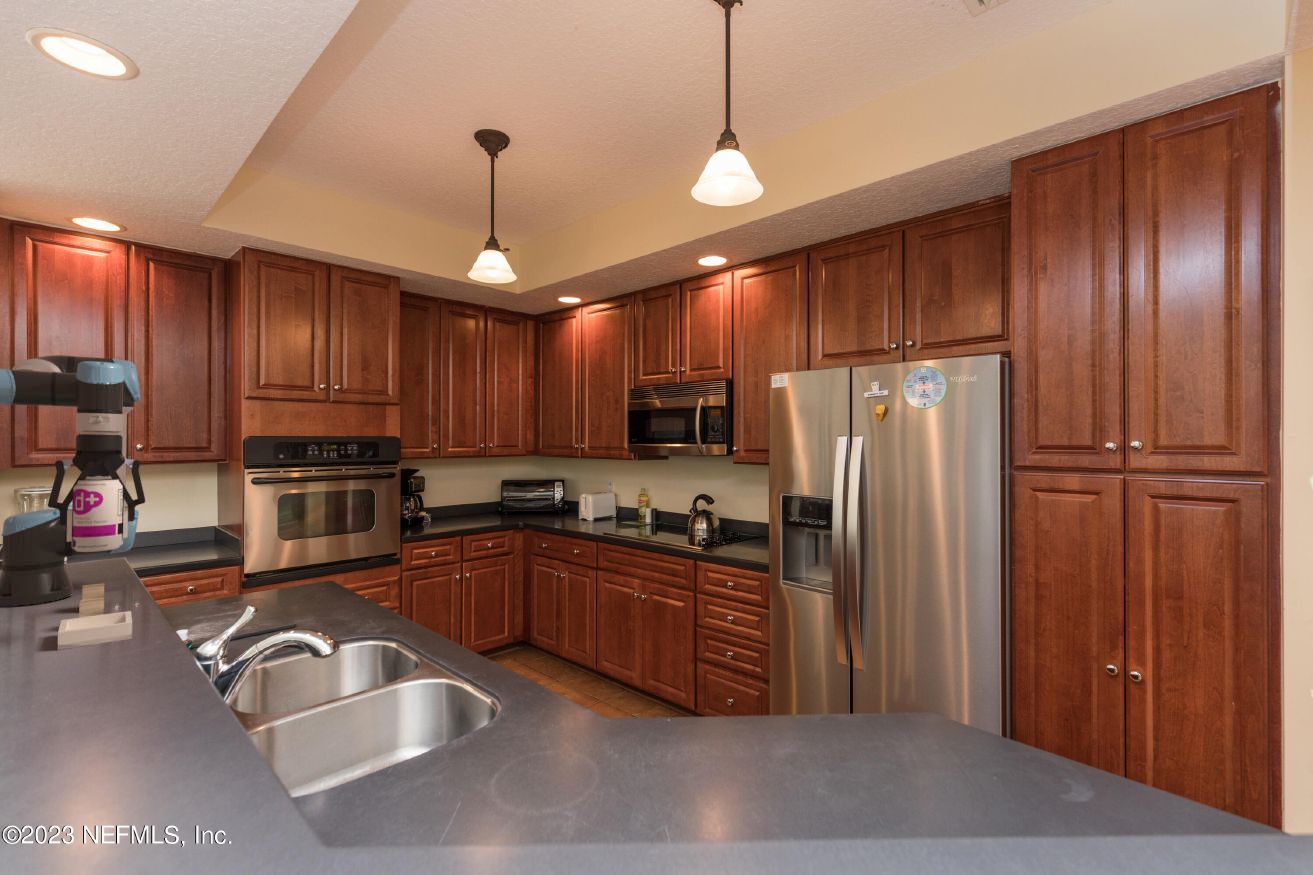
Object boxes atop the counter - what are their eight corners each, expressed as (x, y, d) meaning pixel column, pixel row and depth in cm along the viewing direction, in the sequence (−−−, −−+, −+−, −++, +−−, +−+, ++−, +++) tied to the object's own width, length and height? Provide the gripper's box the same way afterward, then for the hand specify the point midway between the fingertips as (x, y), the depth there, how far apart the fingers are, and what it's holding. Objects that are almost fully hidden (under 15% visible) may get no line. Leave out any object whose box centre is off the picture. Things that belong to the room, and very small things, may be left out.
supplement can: (99, 552, 130) (100, 481, 130) (60, 552, 130) (61, 480, 130) (132, 546, 138) (133, 478, 138) (96, 545, 138) (97, 478, 138)
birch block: (79, 626, 141) (80, 600, 141) (103, 623, 144) (103, 597, 144) (78, 630, 138) (79, 603, 138) (103, 627, 141) (103, 601, 141)
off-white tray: (61, 636, 134) (61, 619, 134) (130, 626, 142) (130, 610, 142) (57, 650, 125) (57, 632, 125) (131, 638, 133) (132, 622, 133)
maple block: (82, 609, 154) (82, 585, 154) (104, 606, 157) (104, 583, 157) (81, 613, 151) (82, 588, 152) (103, 610, 154) (104, 586, 154)
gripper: (28, 432, 124) (26, 545, 124) (162, 434, 138) (161, 536, 138) (32, 432, 130) (30, 541, 130) (160, 434, 144) (159, 532, 143)
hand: (97, 538), depth 134 cm, fingers closed on supplement can, 8 cm apart
